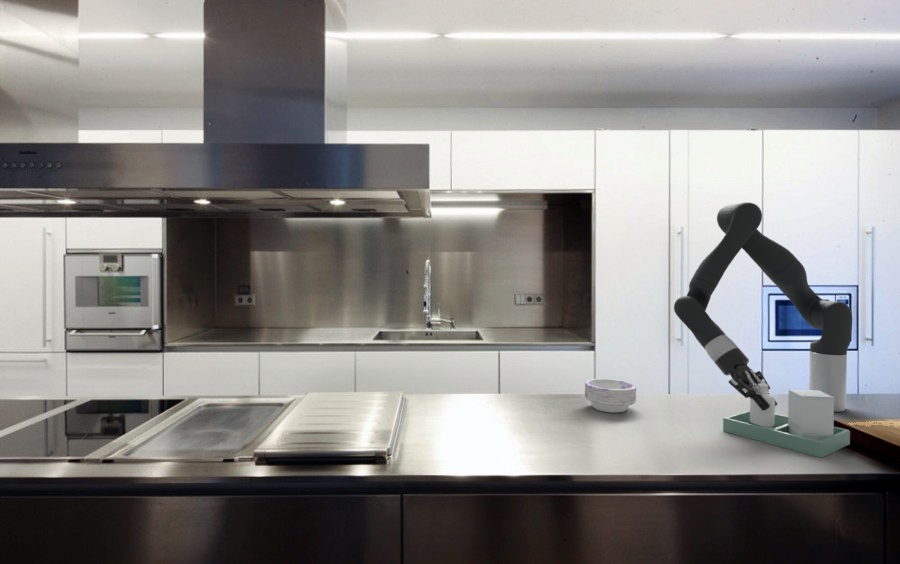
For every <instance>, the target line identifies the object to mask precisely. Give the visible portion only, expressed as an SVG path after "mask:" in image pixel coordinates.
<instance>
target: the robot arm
mask: <svg viewBox="0 0 900 564" xmlns="http://www.w3.org/2000/svg"><path fill="white" fill-rule="evenodd" d="M762 220H763V213H762V210H761V208H760V207H759V206H758V205H757V204H755V203H754V202H739V203H732V204H728V205H725V206H723V207H721V208H720V209H719V210H718V212H717V214H716V222H717V225H718V228H720V230H721V231H722V232H723V233H724V236H723V238H722V239H721V240H720V242H719V243H718V244H717V245H716V246H715V247H714V249H713V250H712V251H711V252H710V253H709V254H707V255H706V257H704V258H703V260H702V261H701V262H700V264H699V266H697V267H698V268H697V269H696V270H695V272H694V274H693V275H692V277H691V280H690V282H689V285H688V287H689V288H688V289H689V290H688V292H687V294H686V295H684V296H680V297H678V298H677V300H676V301H675V302H674V304H673V311H674V313H675V315H676V316H677V318H678V319H679V320H680V321H681V322H682V323H683V324H684V326H686V327H687V328H688V329H689V331H690V332H691V333H692V335H693V336H694V337H695V339H696V341H697V342H698V343H699V344H700V346H702V348H703V349H704V350H705V352H706V353H707V355H708V357H709V358H710V359H711V360H712V361H713V363H714V364H715V365H716V367H718V369H719V370H720V372H721V373H722V374H723V375H724V376H730V377H731V379H729V380H728V384H730V386H732V387H733V388H734V389H735V390H736V391H737V392H738V393H739V394H741V395H742V396H743V397H744V398H746V399H748V398H749V400H750V399H753V400H754V401H755V402H756V403H757V405H758V406H759V407H760V408H761V409H762V410H763V411H764V410H766V409H768V408H769V407H770V405H769V404H768V403H767V401H766V400H765V399H764V398H763V397H762V395H761V394H760V395H759V392H758V384H760V383H761V380H762V379H764V380H765V383H766V384H767V385H768V394H770V393H769V390H770V389H771V386H770V385H769V383H768V381H767V380H766V379H765V377H764V374H762V372H761V371H760V370H757V371H756V372H755V371H754V370H753V369H752V368H750V367H749V365H748V364H749V362H750V359H749V358H748V357H747V355H745V353H744V352H743V351H742V350H741V349H740V348H739V347H738V345H737V344H736V343H735V342H734V341H733V340H732V339H731V338H730V337H729V336H728V335H727V334H726V333H725V332H724V331H723V330H722V328H721V327H720V326H719V325H718V324H717V323H716V322H715V321H714V320H713V319H712V318H711V317H710V315H709V314H708V313H707V308H708V305H709V304H710V301H711V297H712V294H713V293H714V291H715V290H716V288H717V287H718V285H719V283H720V282H721V280H722V278H723V276H724V274H725V273H726V271H727V269H728V268H729V266H730V265H731V263H732V262H733V260H734V259H735V257H736V256H737V255H738V254H739V252H740V251H741V250H743V251H744V252H745V253H746V254H747V256H748V257H750V259H751V260H752V261H753V262H754V263H755V264H756V265H757V266H758V267H759V268H760V270H762V272H763V273H764V274H765V275H766V276H767V278H768V279H770V280H771V282H772V283H773V284H774V285H776V287H778V289H779V290H780V291H781V292H782V293H783V294H784V295H785V296H786V298H788V299H789V301H790V302H791V303H792V304H793V306H794V307H795V309H796V310H797V311H798V313H799V314H800V315H801V318H802V319H803V320H804V321H805V322H806V323H807V324H808V326H810V327H811V328H814V329H816V330H819V331H820V330H821V337H820V338H819V339H818V340H814V341H812V342H810V345H809V376H808V377H809V379H808V380H809V382H808V387H809V389H808V390H818V391H821V392H823V393H825V394H828V395H830V396H832V397H834V413H835V412H836V413H837V412H841V413H842V412H844V411H846V404H847V403H846V402H847V401H846V398H847V362H848V361H847V358H848V357H847V356H848V348H849V346H850V344H851V342H852V341H851V338H852V328H853V327H852V326H853V312H852V310H851V308H850V307H849V305H848V304H847V303H845V302H843V301H836V300H824V299H822V298H821V297H820V296H819V295H817V293H816V292H815V291H814V290H813V289H812V288H811V287H810V286H809V283H808V277H807V272H806V269H805V266H804V265H803V263H802V262H800V260H798V258H797V257H796V256H795V255H794V254H793V253H792V252H791V251H790V250H789V249H787V248H786V247H784V245H782V244H779V243H778V242H776V241H775V240H773V239H771V238H769V237H768V236H766V235H764V234H763V233H762V232H761V231H759V229H758V228H759V226H760V225H761V224H762ZM776 406H778V402H777V401H776V400H775V407H776Z"/></svg>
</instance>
